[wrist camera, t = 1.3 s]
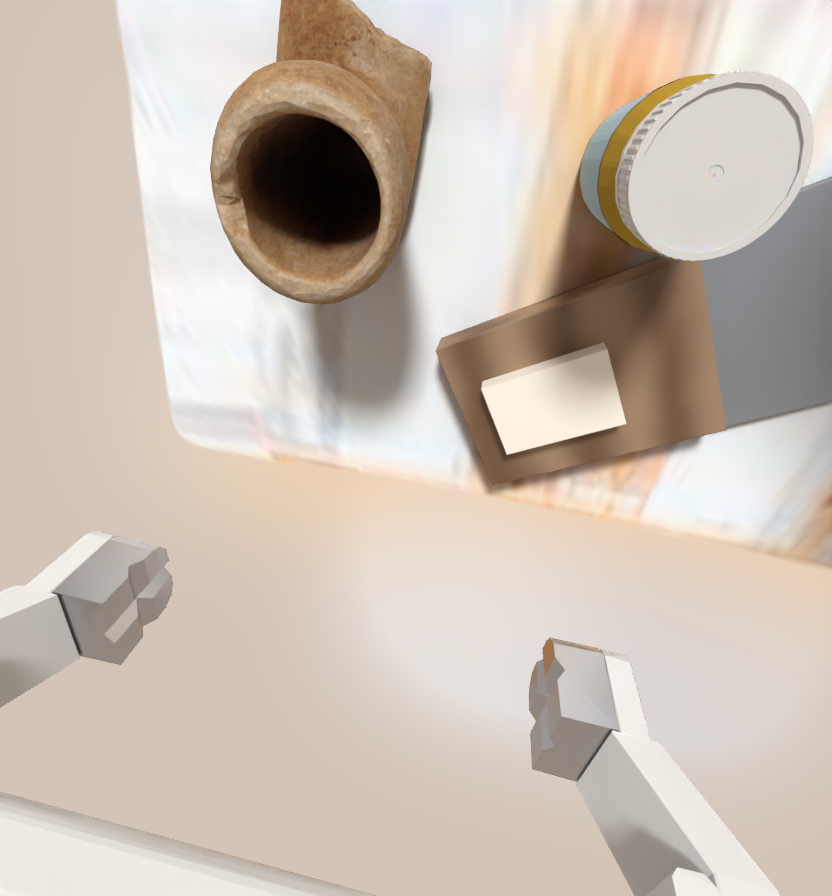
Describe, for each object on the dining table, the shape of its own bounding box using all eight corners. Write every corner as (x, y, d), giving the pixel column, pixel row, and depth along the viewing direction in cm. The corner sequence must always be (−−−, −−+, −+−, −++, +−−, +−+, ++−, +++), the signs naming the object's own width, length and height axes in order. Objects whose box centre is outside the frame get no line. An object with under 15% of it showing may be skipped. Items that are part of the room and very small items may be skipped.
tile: (604, 342, 33) (607, 349, 32) (622, 414, 36) (626, 423, 34) (482, 381, 36) (481, 389, 35) (507, 445, 39) (506, 454, 38)
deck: (686, 247, 32) (699, 255, 29) (712, 411, 37) (726, 430, 35) (441, 338, 38) (435, 351, 36) (494, 466, 44) (492, 485, 41)
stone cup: (417, 287, 37) (362, 355, 24) (273, 238, 37) (144, 281, 24) (484, 39, 28) (452, -52, 16) (297, -21, 29) (120, -160, 16)
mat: (983, 118, 26) (999, 117, 25) (962, 361, 32) (973, 367, 31) (683, 232, 31) (687, 234, 31) (714, 422, 38) (719, 428, 37)
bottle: (557, 158, 31) (581, 160, 18) (665, 68, 27) (783, -6, 15) (611, 249, 33) (665, 307, 20) (717, 175, 30) (860, 189, 17)
